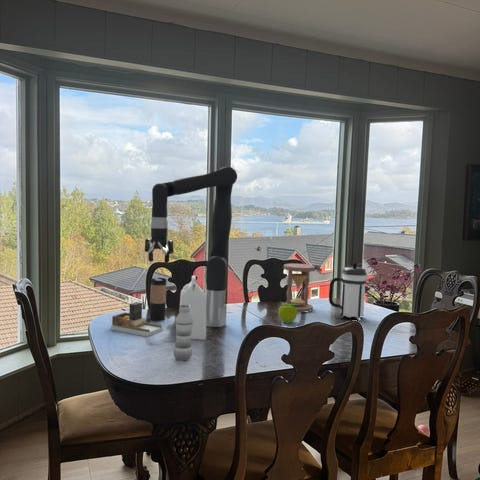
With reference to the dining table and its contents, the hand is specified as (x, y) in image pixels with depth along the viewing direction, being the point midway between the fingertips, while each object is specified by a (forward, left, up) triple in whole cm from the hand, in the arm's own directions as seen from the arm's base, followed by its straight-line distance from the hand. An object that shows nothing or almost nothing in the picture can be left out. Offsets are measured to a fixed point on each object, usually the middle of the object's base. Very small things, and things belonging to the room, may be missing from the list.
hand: (158, 262), depth 214 cm
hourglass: (-45, -72, -30) cm, 90 cm away
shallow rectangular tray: (+3, +11, -30) cm, 32 cm away
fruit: (-50, -41, -30) cm, 71 cm away
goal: (+11, +11, -28) cm, 32 cm away
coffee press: (-75, -69, -30) cm, 106 cm away
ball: (+9, +11, -26) cm, 30 cm away
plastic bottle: (-35, +33, -30) cm, 57 cm away
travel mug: (+6, -9, -30) cm, 32 cm away
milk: (-22, +5, -30) cm, 38 cm away
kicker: (+4, +11, -28) cm, 30 cm away
